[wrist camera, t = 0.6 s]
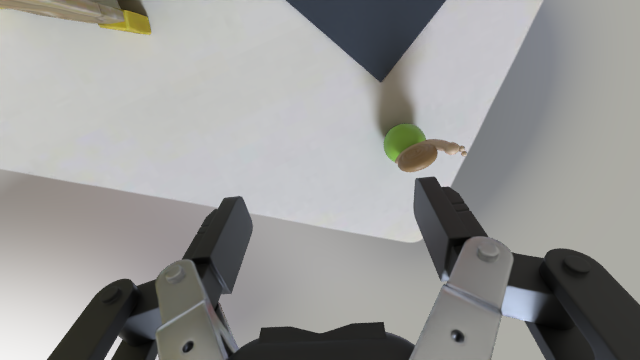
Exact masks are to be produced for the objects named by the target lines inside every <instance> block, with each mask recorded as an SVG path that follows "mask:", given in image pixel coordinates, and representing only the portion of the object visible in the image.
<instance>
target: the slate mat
mask: <svg viewBox="0 0 640 360" xmlns="http://www.w3.org/2000/svg"><path fill="white" fill-rule="evenodd" d="M286 1H287V2H289V3H290V4H291V5H292V6H293V7H294V8H296V9H297V10H298V11H299V12H300V13H301V14H302V15H304V16H305V17H306V18H307V19H308V20H309V21H311V22H312V23H313V24H314V25H315V26H316V27H317V28H319V29H320V30H321V31H322V32H323V33H324V34H326V35H327V36H328V37H329V38H330V39H331V40H332V41H334V42H335V43H336V44H337V45H338V46H339V47H341V48H342V49H343V50H344V51H345V52H346V53H347V54H349V55H350V56H351V57H352V58H353V59H354V60H356V61H357V62H358V63H359V64H360V65H361V66H362V67H364V68H365V69H366V70H367V71H368V72H369V73H371V74H372V75H373V76H374V77H375V78H376V79H377V80H379V81H380V82H382V80H383V79H384V78H385V77H386V75H387V74H388V73H389V72H390V70H391V69H392V68H393V67H394V65H395V64H396V63H397V61H398V60H399V59H400V58H401V56H402V55H403V54H404V53H405V51H406V50H407V49H408V48H409V46H410V45H411V44H412V43H413V41H414V40H415V39H416V37H417V36H418V35H419V34H420V32H421V31H422V30H423V29H424V27H425V26H426V25H427V24H428V22H429V21H430V20H431V19H432V17H433V16H434V15H435V14H436V12H437V11H438V10H439V8H440V7H441V6H442V5H443V3H444V2H445V1H446V0H286Z"/></svg>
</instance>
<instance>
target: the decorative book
mask: <svg viewBox="0 0 640 360" xmlns="http://www.w3.org/2000/svg"><path fill="white" fill-rule="evenodd" d="M0 9H15V10H19V11H24V12H28V13H33V14H37V15H42V16H49V17H55V18H61V19H68V20H74V21H80V22H86V23H98V25H99V26H100V27H102V28H108V29H114V30H121V31H127V32H133V33H139V34H148V35H150V34H151V29H150V25H149V20H148V17H146V16H143V15H140V14H138V13H134V12H131V11H127V10H122V9H121V8H120V6H119V4H118V2H117V0H0Z"/></svg>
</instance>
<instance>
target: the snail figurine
mask: <svg viewBox="0 0 640 360" xmlns="http://www.w3.org/2000/svg"><path fill="white" fill-rule="evenodd" d="M384 150H385V153H386V155H387V156H388V157H389V158H390V159H391V160H392V161H394V162H395V163H396V164H398V167H399V168H400V169H401V170H402V171H405V172H415V171H419V170H422V169H424V168H426V167H428V166H429V165H430V164H432V163H433V162H434V161H435V159H436V157H437V150H440V151H445V153H447V154H449V155H454V154H456V153H457V152H458V151H460V152H462V151H463V152H462V153H461V155H462V156H466V155H467V152H466V151H464V150H465V147H464V146H459V145H458V144H456V143H454V142H451V143H450V142H447V141H444V140H437V139H429V140H426V138H425V135H424V133H423V132H422V131H421V130H420V129H419V128H418V127H417V126H415V125H412V124H399V125H397V126H395V127H393V128H392V129H391V130H390V131H389V132H388V133H387V135H386V136H385V139H384Z"/></svg>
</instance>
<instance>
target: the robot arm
mask: <svg viewBox="0 0 640 360" xmlns="http://www.w3.org/2000/svg"><path fill="white" fill-rule="evenodd" d="M414 215H415V218H416V221H417V224H418V226H419V229H420V231H421V233H422V236H423V238H424V241H425V243H426V246H427V248H428V251H429V253H430V256H431V258H432V260H433V263H434V266H435V268H436V271H437V273H438V275H439V278H440V280H441V281H447V283H446V285H445V284H444V285H443V286H442V288H441V290H440V292H439V295H438V297H437V299H436V301H435V303H434V306H433V308H432V310H431V312H430V314H429V317H428V319H427V321H426V324H425V326H424V328H423V330H422V332H421V335H420V336H419V339H418V341H417V343H416V345H414V344H412V343H411V342H409V341H408V340H406V339H404V338H402V337H400V336H397V335H394V334H392V333H388V332H385V328H384V322H377V323H355V324H350V325H346V326H343V327H340V328H337V329H335V330H331V331H328V332H325V333H315V332H311V331H306V330H302V329H298V328H294V327H269V328H261V332H260V336H259V338H258V339H256V340H253V341H251V342H249V343H248V344H246V345H244V346H243V347H241V348H240V349H239V347H238V346H237V344H236V341H235V339H234V337H233V335H232V332H231V330H230V327H229V325H228V322H227V320H226V317H225V315H224V312H223V310H222V308H221V305H220V303H219V302H218V301H219V298H220V295H221V294H231V293H232V290H233V287H234V284H235V281H236V278H237V275H238V272H239V270H240V267H241V264H242V260H243V258H244V255H245V252H246V249H247V246H248V243H249V240H250V237H251V234H252V228H253V226H252V220H251V217H250V215H249V212H248V210H247V207H246V205H245V202H244V200H243V198H242V197H241V196H238V197H228V198H224V199H223V201H222V202H221V204H220V206H219V208H218V209H215V210H213V211H212V212H211V214H209V215H208V216H207V217H206V219H205V220H204V222H203V224H202V225H201V228H200V229H199V231H198V232H197V235H196V236H195V237H194V239H193V241H192V243H191V244H190V246H189V248H188V249H187V251H186V253H185V255H184V256H183V258H182V260H179V261H176V262H174V263H172V264H170V265H169V266H167V267H166V268H165V269H164V270H163V271H162V272H161V273H160V274H159V276H158V277H157V279H156V280H153V281H150V282H147V283H144V284H141V285H138V286H136V285H135V284H134V283H133V282H132V281H131V280H129V279H120V280H117V281H115V282H112V283H111V284H109V285H107V286H106V287H105V288H103V289H102V290H101V291H99V293H97V294H96V295H95V297H94V298H93V299H92V300H91V302H90V303H89V305H88V306H87V307H86V308H85V310H84V311H83V312H82V314H81V315H80V317H79V318H78V319H77V320H76V322H75V323H74V324H73V326H72V327H71V328H70V330H69V331H68V333H67V334H66V335H65V336H64V338H63V339H62V340H61V342H60V343H59V344H58V346H57V347H56V348H55V350H54V351H53V352H52V354H51V355H50V356H49V358H48V359H47V360H104V358H105V357H106V355H107V353H108V351H109V350H110V348H111V347H112V345H113V343H114V341H115V340H116V338H117V336H119V337H120V338H122V339H123V340H122V342H121V343H120V345H119V347H118V349H117V350H116V352H115V354H114V356H113V357H112V359H111V360H155V358H156V356H157V354H158V357H159V360H491V357H492V353H493V349H494V345H495V341H496V337H497V333H498V328H499V325H500V321H501V316H502V315H504V316H507V317H512V318H516V319H520V320H524V321H525V323H526V324H527V326H528V328H529V330H530V332H531V334H532V335H533V337H534V339H535V341H536V342H537V345H538V346H539V348H540V350H541V352H542V354H543V355H544V357H545V359H546V360H640V305H639V304H638V303H637V302H636V301H635V300H634V299H633V298H632V296H631V295H629V293H628V292H627V291H626V290H625V289H624V288H623V287H622V286H621V285H620V284H619V283H618V282H617V281H616V280H615V279H614V278H613V277H612V276H611V275H610V274H609V273H608V272H607V271H606V269H604V268H603V266H602V265H600V264H599V263H598V262H596V261H595V260H594V259H592V258H591V257H589V256H587V255H585V254H583V253H580V252H577V251H574V250H570V249H553V250H550V251H549V252H547V254H546V255H545V257H544V258H539V257H533V256H527V255H521V254H516V253H512V252H511V251H510V249H509V248H508V247H507V246H505V245H504V244H503V243H501V242H499V241H497V240H495V239H493V238H489V237H488V236H487V234H486V233H485V231H484V230H483V228H482V227H481V225H480V224H479V222H478V221H477V219H476V218H475V217H474V215H473V214H472V212H471V211H469V208H468V207H467V205H466V204H465V203H464V201H463V199H462V198H461V196H460V195H459V193H457V192H456V191H454V190H453V189H451V188H450V187H441V186H440V184H439V182H438V181H437V179H436V178H435V177H425V178H416V180H415V190H414Z"/></svg>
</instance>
